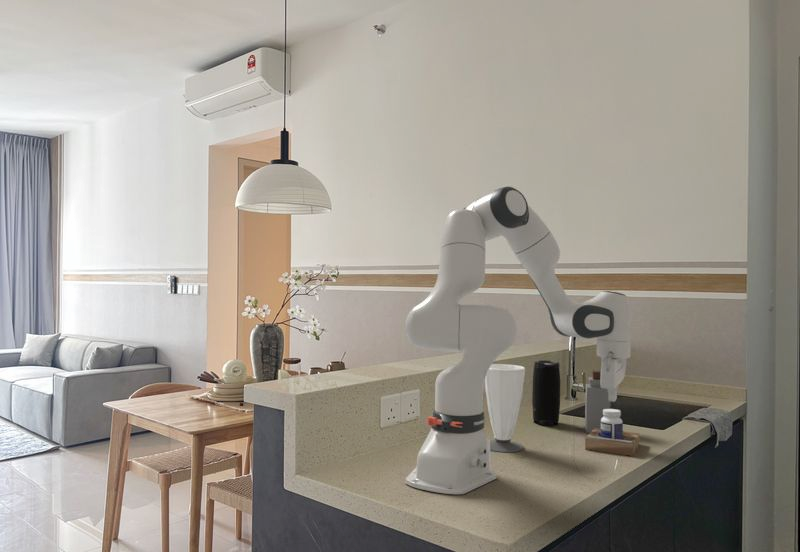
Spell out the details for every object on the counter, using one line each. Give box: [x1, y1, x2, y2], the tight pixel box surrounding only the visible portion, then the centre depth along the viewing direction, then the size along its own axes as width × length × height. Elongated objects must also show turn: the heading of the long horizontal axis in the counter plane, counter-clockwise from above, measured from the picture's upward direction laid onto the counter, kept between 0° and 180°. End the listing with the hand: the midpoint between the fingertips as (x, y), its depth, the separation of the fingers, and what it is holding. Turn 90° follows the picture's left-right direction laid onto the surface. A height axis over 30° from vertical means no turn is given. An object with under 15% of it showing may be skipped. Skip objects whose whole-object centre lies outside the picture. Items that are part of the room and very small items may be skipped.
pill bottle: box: [601, 408, 624, 439], centre depth 165 cm, size 6×6×10 cm
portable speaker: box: [531, 359, 561, 427], centre depth 191 cm, size 9×9×20 cm
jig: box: [584, 428, 640, 457], centre depth 165 cm, size 14×12×3 cm
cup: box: [484, 363, 526, 454], centre depth 163 cm, size 12×12×22 cm
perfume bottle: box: [584, 370, 612, 434], centre depth 183 cm, size 7×7×18 cm
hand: (612, 400), depth 165 cm, fingers closed
